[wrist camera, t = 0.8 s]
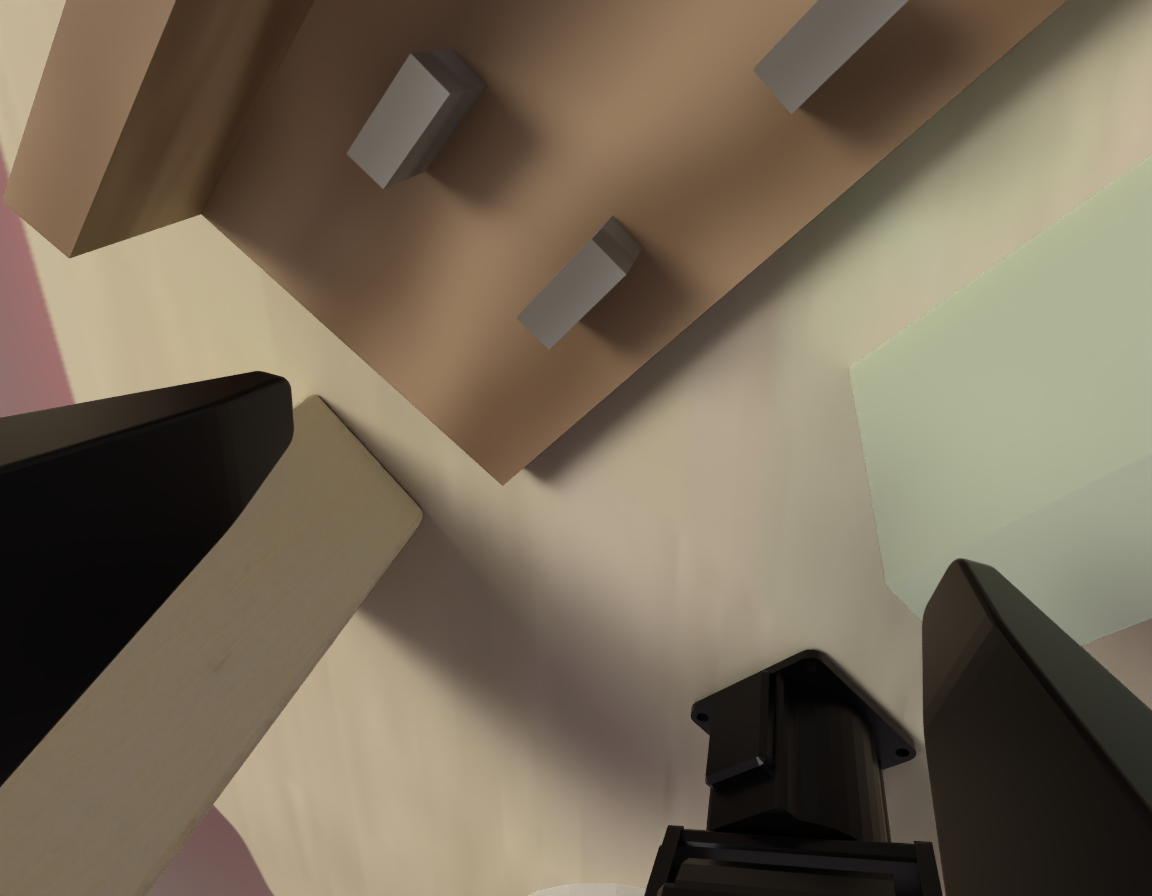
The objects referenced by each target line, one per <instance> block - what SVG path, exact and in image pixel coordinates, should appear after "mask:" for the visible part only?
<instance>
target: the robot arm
mask: <svg viewBox="0 0 1152 896" xmlns="http://www.w3.org/2000/svg"><path fill="white" fill-rule="evenodd" d="M293 435H294V419H293V406H292V393H291V386H290V384H289V382H288V381H287V380H286V379H285V378H284V377H281V376H277V375H274V374H270V373H266V372H262V371H254V372H249V373H244V374H238V375H233V376H227V377H222V378H216V379H211V380H205V381H200V382H194V383H189V384H183V385H178V386H172V387H167V388H161V389H156V390H150V391H145V392H139V393H134V394H128V395H123V396H117V397H112V398H106V399H101V400H95V401H90V402H84V403H79V404H73V405H68V406H62V407H57V408H51V409H46V410H41V411H35V412H29V413H24V414H18V415H13V416H8V417H2V418H0V788H1V786H2V785H3V784H4V783H5V782H6V781H7V780H8V778H9V777H10V776H11V775H12V774H13V773H14V772H15V771H16V769H17V768H18V767H19V766H20V765H21V764H22V763H23V762H24V760H25V759H26V758H27V757H28V756H29V755H30V754H31V753H32V751H33V750H34V749H35V748H36V747H37V746H38V745H39V744H40V742H41V741H42V740H43V739H44V738H45V737H46V736H47V735H48V733H49V732H50V731H51V730H52V729H53V728H54V727H55V725H56V724H57V723H58V722H59V721H60V720H61V719H62V718H63V716H64V715H65V714H66V713H67V712H68V711H69V710H70V709H71V707H72V706H73V705H74V704H75V703H76V702H77V701H78V700H79V698H80V697H81V696H82V695H83V694H84V693H85V692H86V691H87V689H88V688H89V687H90V686H91V685H92V684H93V683H94V681H95V680H96V679H97V678H98V677H99V676H100V675H101V674H102V672H103V671H104V670H105V669H106V668H107V667H108V666H109V665H110V663H111V662H112V661H113V660H114V659H115V658H116V657H117V656H118V654H119V653H120V652H121V651H122V650H123V649H124V648H125V647H126V645H127V644H128V643H129V642H130V641H131V640H132V639H133V638H134V636H135V635H136V634H137V633H138V632H139V631H140V630H141V628H142V627H143V626H144V625H145V624H146V623H147V622H148V621H149V619H150V618H151V617H152V616H153V615H154V614H155V613H156V612H157V610H158V609H159V608H160V607H161V606H162V605H163V604H164V603H165V601H166V600H167V599H168V598H169V597H170V596H171V595H172V594H173V592H174V591H175V590H176V589H177V588H178V587H179V586H180V585H181V583H182V582H183V581H184V580H185V579H186V578H187V577H188V575H189V574H190V573H191V572H192V571H193V570H194V569H195V568H196V566H197V565H198V564H199V563H200V562H201V561H202V560H203V559H204V557H205V556H206V555H207V554H208V553H209V552H210V551H211V550H212V548H213V547H214V546H215V545H216V544H217V543H218V542H219V541H220V539H221V538H222V537H223V536H224V535H225V534H226V532H227V531H228V530H229V529H230V528H231V526H232V525H233V524H234V523H235V521H236V520H237V519H238V517H239V516H240V515H241V513H242V512H243V511H244V509H245V508H246V506H247V505H248V504H249V502H250V501H251V499H252V498H253V497H254V495H255V494H256V492H257V491H258V490H259V488H260V487H261V485H262V484H263V482H264V481H265V480H266V478H267V477H268V475H269V474H270V473H271V471H272V470H273V468H274V467H275V466H276V464H277V463H278V461H279V460H280V458H281V457H282V456H283V454H284V453H285V451H286V450H287V449H288V447H289V445H290V443H291V441H292V439H293ZM922 660H923V724H924V738H925V747H926V755H927V763H928V770H929V777H930V784H931V792H932V799H933V806H934V813H935V821H936V828H937V835H938V842H939V850H940V857H941V864H942V871H943V879H944V886H945V893H946V896H1152V710H1151V709H1149V708H1148V707H1147V706H1146V705H1145V704H1144V703H1143V702H1142V701H1141V700H1139V699H1138V698H1137V697H1136V696H1135V695H1134V694H1133V693H1132V692H1131V691H1130V690H1128V689H1127V688H1126V687H1125V686H1124V685H1123V684H1122V683H1121V682H1120V681H1119V680H1117V679H1116V678H1115V677H1114V676H1113V675H1112V674H1111V673H1110V672H1109V671H1108V670H1106V669H1105V668H1104V667H1103V666H1102V665H1101V664H1100V663H1099V662H1098V661H1097V660H1095V659H1094V658H1093V657H1092V656H1091V655H1090V654H1089V653H1088V652H1087V651H1086V650H1084V649H1083V648H1082V647H1081V646H1080V645H1079V644H1078V643H1077V642H1076V641H1075V640H1073V639H1072V638H1071V637H1070V636H1069V635H1068V634H1067V633H1066V632H1065V631H1064V630H1062V629H1061V628H1060V627H1059V626H1058V625H1057V624H1056V623H1055V622H1054V621H1053V620H1051V619H1050V618H1049V617H1048V616H1047V615H1046V614H1045V613H1044V612H1043V611H1042V610H1040V609H1039V608H1038V607H1037V606H1036V605H1035V604H1034V603H1033V602H1032V601H1031V600H1029V599H1028V598H1027V597H1026V596H1025V595H1024V594H1023V593H1022V592H1021V591H1020V590H1018V589H1017V588H1016V587H1015V586H1014V585H1013V584H1012V583H1011V582H1010V581H1009V580H1007V579H1006V578H1005V577H1004V576H1003V575H1002V574H1001V573H1000V572H999V571H998V570H996V569H995V568H994V567H992V566H990V565H987V564H983V563H979V562H976V561H972V560H968V559H964V558H958V559H956V560H954V561H953V562H952V563H951V564H950V565H949V566H948V568H947V570H946V571H945V573H944V575H943V577H942V578H941V580H940V582H939V584H938V585H937V587H936V589H935V591H934V593H933V594H932V596H931V598H930V600H929V601H928V603H927V605H926V608H925V610H924V614H923V620H922ZM808 662H813V663H815V664H808ZM702 713H704V714H702ZM691 719H692V720H693V721H694V722H695V723H696V724H697V725H698V726H699V727H701V728H702V729H703V730H704V731H705V732H706V733H707V734H709V735H710V740H709V750H708V759H707V768H706V778H705V781H706V784H707V785H708V786H709V787H711V788H710V798H709V808H708V818H707V828H706V830H693V829H684V826H674V825H668V827H667V830H666V833H665V837H664V840H663V843H662V846H661V845H660V847H659V850H658V853H657V856H656V859H655V862H654V866H653V869H652V872H651V875H650V879H649V882H648V885H647V888H646V891H645V895H644V896H942V891H941V885H940V880H939V875H938V870H937V865H936V860H935V855H934V850H933V845H932V842H923V841H914V844H907V843H891V837H890V829H889V821H888V813H887V805H886V797H885V789H884V781H883V773H882V770H883V769H886V768H889V767H892V766H895V765H898V764H901V763H903V762H906V761H909V760H911V759H913V758H914V757H915V756H916V749H915V744H914V742H913V740H912V739H911V738H910V737H909V736H908V735H907V734H906V733H904V732H903V731H902V730H901V729H900V728H899V727H898V726H897V725H896V724H895V723H894V722H893V721H892V720H891V719H890V718H889V717H888V716H887V715H886V714H884V713H883V712H882V711H881V710H880V709H879V708H878V707H877V706H876V705H875V704H874V703H873V702H872V701H871V700H870V699H869V698H868V697H867V696H866V695H865V694H863V693H862V692H861V691H860V690H859V689H858V688H857V687H856V686H855V685H854V684H853V683H852V682H851V681H850V680H849V679H848V678H847V677H846V676H845V675H844V674H842V673H841V672H840V671H839V670H838V669H837V668H836V667H835V666H834V665H833V664H832V663H831V662H830V661H829V660H828V659H827V658H826V657H825V656H824V655H822V654H821V653H820V652H818V651H815V650H805V651H802V652H800V653H798V654H795V655H793V656H791V657H789V658H787V659H785V660H783V661H781V662H779V663H777V664H775V665H773V666H771V667H768V668H766V669H764V670H762V671H760V672H758V673H756V674H754V675H752V676H750V677H748V678H746V679H744V680H741V681H739V682H737V683H735V684H733V685H731V686H729V687H727V688H725V689H723V690H721V691H719V692H717V693H714V694H712V695H710V696H708V697H706V698H704V699H702V700H700V701H698V702H696V703H694V704H693V706H692V709H691Z"/></svg>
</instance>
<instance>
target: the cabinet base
mask: <svg viewBox="0 0 1152 896" xmlns="http://www.w3.org/2000/svg"><path fill="white" fill-rule="evenodd" d="M1066 1H1067V0H66V3H65V6H64V9H63V12H62V16H61V19H60V22H59V25H58V28H57V31H56V34H55V37H54V40H53V44H52V47H51V50H50V53H49V56H48V59H47V62H46V65H45V68H44V72H43V75H42V78H41V81H40V84H39V87H38V90H37V93H36V96H35V100H34V103H33V106H32V109H31V112H30V115H29V118H28V121H27V125H26V128H25V131H24V134H23V137H22V140H21V143H20V146H19V149H18V153H17V156H16V159H15V162H14V165H13V168H12V171H11V174H10V177H9V181H8V184H7V187H6V190H5V193H4V196H3V199H2V202H3V203H5V204H6V205H7V206H8V207H9V208H11V209H12V210H13V211H14V212H15V213H16V214H18V215H19V216H20V217H21V218H22V219H23V220H25V221H26V222H27V223H28V224H29V225H30V226H32V227H33V228H34V229H35V230H36V231H38V232H39V233H40V234H41V235H42V236H43V237H45V238H46V239H47V240H48V241H49V242H51V243H52V244H53V245H54V246H55V247H56V248H58V249H59V250H60V251H61V252H62V253H63V254H65V255H66V256H67V257H68V258H72V257H75V256H78V255H81V254H84V253H87V252H90V251H93V250H96V249H99V248H102V247H105V246H108V245H111V244H114V243H117V242H120V241H123V240H126V239H128V238H131V237H134V236H137V235H140V234H143V233H146V232H149V231H152V230H155V229H158V228H161V227H164V226H167V225H170V224H173V223H176V222H179V221H182V220H185V219H188V218H191V217H194V216H197V215H200V214H202V215H203V216H204V217H205V218H206V219H207V220H208V221H209V222H211V223H212V224H213V225H214V226H215V227H216V228H217V229H218V230H219V231H221V232H222V233H223V234H224V235H225V236H226V237H227V238H228V239H229V240H231V241H232V242H233V243H234V244H235V245H236V246H237V247H238V248H239V249H241V250H242V251H243V252H244V253H245V254H246V255H247V256H248V257H249V258H251V259H252V260H253V261H254V262H255V263H256V264H257V265H258V266H259V267H260V268H262V269H263V270H264V271H265V272H266V273H267V274H268V275H269V276H270V277H272V278H273V279H274V280H275V281H276V282H277V283H278V284H279V285H280V286H282V287H283V288H284V289H285V290H286V291H287V292H288V293H289V294H290V295H292V296H293V297H294V298H295V299H296V300H297V301H298V302H299V303H300V304H302V305H303V306H304V307H305V308H306V309H307V310H308V311H309V312H310V313H312V314H313V315H314V316H315V317H316V318H317V319H318V320H319V321H320V322H322V323H323V324H324V325H325V326H326V327H327V328H328V329H329V330H330V331H331V332H333V333H334V334H335V335H336V336H337V337H338V338H339V339H340V340H341V341H343V342H344V343H345V344H346V345H347V346H348V347H349V348H350V349H351V350H353V351H354V352H355V353H356V354H357V355H358V356H359V357H360V358H361V359H363V360H364V361H365V362H366V363H367V364H368V365H369V366H370V367H371V368H373V369H374V370H375V371H376V372H377V373H378V374H379V375H380V376H381V377H383V378H384V379H385V380H386V381H387V382H388V383H389V384H390V385H391V386H393V387H394V388H395V389H396V390H397V391H398V392H399V393H400V394H401V395H402V396H404V397H405V398H406V399H407V400H408V401H409V402H410V403H411V404H412V405H414V406H415V407H416V408H417V409H418V410H419V411H420V412H421V413H422V414H424V415H425V416H426V417H427V418H428V419H429V420H430V421H431V422H432V423H434V424H435V425H436V426H437V427H438V428H439V429H440V430H441V431H442V432H444V433H445V434H446V435H447V436H448V437H449V438H450V439H451V440H452V441H454V442H455V443H456V444H457V445H458V446H459V447H460V448H461V449H462V450H464V451H465V452H466V453H467V454H468V455H469V456H470V457H471V458H472V459H473V460H475V461H476V462H477V463H478V464H479V465H480V466H481V467H482V468H483V469H485V470H486V471H487V472H488V473H489V474H490V475H491V476H492V477H493V478H495V479H496V480H497V481H498V482H499V483H500V484H501V485H502V486H503V485H504V484H505V483H507V482H508V481H509V480H510V479H511V478H512V477H514V476H515V475H516V474H517V473H518V472H519V471H520V470H522V469H523V468H524V467H525V466H526V465H527V464H529V463H530V462H531V461H532V460H533V459H534V458H536V457H537V456H538V455H539V454H540V453H541V452H543V451H544V450H545V449H546V448H547V447H548V446H550V445H551V444H552V443H553V442H554V441H555V440H557V439H558V438H559V437H560V436H561V435H562V434H564V433H565V432H566V431H567V430H568V429H569V428H570V427H572V426H573V425H574V424H575V423H576V422H577V421H579V420H580V419H581V418H582V417H583V416H584V415H586V414H587V413H588V412H589V411H590V410H591V409H593V408H594V407H595V406H596V405H597V404H598V403H600V402H601V401H602V400H603V399H604V398H605V397H607V396H608V395H609V394H610V393H611V392H612V391H614V390H615V389H616V388H617V387H618V386H619V385H620V384H622V383H623V382H624V381H625V380H626V379H627V378H629V377H630V376H631V375H632V374H633V373H634V372H636V371H637V370H638V369H639V368H640V367H641V366H643V365H644V364H645V363H646V362H647V361H648V360H650V359H651V358H652V357H653V356H654V355H655V354H657V353H658V352H659V351H660V350H661V349H662V348H664V347H665V346H666V345H667V344H668V343H669V342H670V341H672V340H673V339H674V338H675V337H676V336H677V335H679V334H680V333H681V332H682V331H683V330H684V329H686V328H687V327H688V326H689V325H690V324H691V323H693V322H694V321H695V320H696V319H697V318H698V317H700V316H701V315H702V314H703V313H704V312H705V311H707V310H708V309H709V308H710V307H711V306H712V305H714V304H715V303H716V302H717V301H718V300H719V299H720V298H722V297H723V296H724V295H725V294H726V293H727V292H729V291H730V290H731V289H732V288H733V287H734V286H736V285H737V284H738V283H739V282H740V281H741V280H743V279H744V278H745V277H746V276H747V275H748V274H750V273H751V272H752V271H753V270H754V269H755V268H757V267H758V266H759V265H760V264H761V263H762V262H764V261H765V260H766V259H767V258H768V257H769V256H770V255H772V254H773V253H774V252H775V251H776V250H777V249H779V248H780V247H781V246H782V245H783V244H784V243H786V242H787V241H788V240H789V239H790V238H791V237H793V236H794V235H795V234H796V233H797V232H798V231H800V230H801V229H802V228H803V227H804V226H805V225H807V224H808V223H809V222H810V221H811V220H812V219H814V218H815V217H816V216H817V215H818V214H819V213H821V212H822V211H823V210H824V209H825V208H826V207H827V206H829V205H830V204H831V203H832V202H833V201H834V200H836V199H837V198H838V197H839V196H840V195H841V194H843V193H844V192H845V191H846V190H847V189H848V188H850V187H851V186H852V185H853V184H854V183H855V182H857V181H858V180H859V179H860V178H861V177H862V176H864V175H865V174H866V173H867V172H868V171H869V170H871V169H872V168H873V167H874V166H875V165H876V164H877V163H879V162H880V161H881V160H882V159H883V158H884V157H886V156H887V155H888V154H889V153H890V152H891V151H893V150H894V149H895V148H896V147H897V146H898V145H900V144H901V143H902V142H903V141H904V140H905V139H907V138H908V137H909V136H910V135H911V134H912V133H914V132H915V131H916V130H917V129H918V128H919V127H921V126H922V125H923V124H924V123H925V122H926V121H927V120H929V119H930V118H931V117H932V116H933V115H934V114H936V113H937V112H938V111H939V110H940V109H941V108H943V107H944V106H945V105H946V104H947V103H948V102H950V101H951V100H952V99H953V98H954V97H955V96H957V95H958V94H959V93H960V92H961V91H962V90H964V89H965V88H966V87H967V86H968V85H969V84H971V83H972V82H973V81H974V80H975V79H976V78H977V77H979V76H980V75H981V74H982V73H983V72H984V71H986V70H987V69H988V68H989V67H990V66H991V65H993V64H994V63H995V62H996V61H997V60H998V59H1000V58H1001V57H1002V56H1003V55H1004V54H1005V53H1007V52H1008V51H1009V50H1010V49H1011V48H1012V47H1014V46H1015V45H1016V44H1017V43H1018V42H1019V41H1021V40H1022V39H1023V38H1024V37H1025V36H1026V35H1027V34H1029V33H1030V32H1031V31H1032V30H1033V29H1034V28H1036V27H1037V26H1038V25H1039V24H1040V23H1041V22H1043V21H1044V20H1045V19H1046V18H1047V17H1048V16H1050V15H1051V14H1052V13H1053V12H1054V11H1055V10H1057V9H1058V8H1059V7H1060V6H1061V5H1062V4H1064V3H1065V2H1066Z"/></svg>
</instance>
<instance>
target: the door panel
mask: <svg viewBox="0 0 1152 896" xmlns="http://www.w3.org/2000/svg"><path fill="white" fill-rule="evenodd" d="M849 373H850V379H851V385H852V391H853V397H854V403H855V408H856V414H857V420H858V426H859V432H860V437H861V443H862V449H863V455H864V461H865V466H866V472H867V478H868V484H869V490H870V496H871V501H872V507H873V513H874V519H875V525H876V530H877V536H878V542H879V548H880V554H881V559H882V565H883V571H884V577H885V583H886V586H887V587H888V588H889V589H890V590H891V591H892V592H893V593H894V594H895V595H896V596H897V597H898V598H899V599H900V600H901V601H902V602H903V604H904V605H905V606H906V607H907V608H908V609H909V610H910V611H911V612H912V613H913V614H914V615H915V616H916V617H917V618H918V619H919V620H920V621H921V622H922V620H923V614H924V610H925V608H926V605H927V603H928V601H929V600H930V598H931V596H932V594H933V593H934V591H935V589H936V587H937V585H938V584H939V582H940V580H941V578H942V577H943V575H944V573H945V571H946V570H947V568H948V566H949V565H950V564H951V563H952V562H953V561H954V560H956V559H958V558H964V559H968V560H972V561H976V562H979V563H983V564H987V565H990V566H992V567H994V568H995V569H996V570H998V571H999V572H1000V573H1001V574H1002V575H1003V576H1004V577H1005V578H1006V579H1007V580H1009V581H1010V582H1011V583H1012V584H1013V585H1014V586H1015V587H1016V588H1017V589H1018V590H1020V591H1021V592H1022V593H1023V594H1024V595H1025V596H1026V597H1027V598H1028V599H1029V600H1031V601H1032V602H1033V603H1034V604H1035V605H1036V606H1037V607H1038V608H1039V609H1040V610H1042V611H1043V612H1044V613H1045V614H1046V615H1047V616H1048V617H1049V618H1050V619H1051V620H1053V621H1054V622H1055V623H1056V624H1057V625H1058V626H1059V627H1060V628H1061V629H1062V630H1064V631H1065V632H1066V633H1067V634H1068V635H1069V636H1070V637H1071V638H1072V639H1073V640H1075V641H1076V642H1077V643H1078V644H1079V645H1080V646H1082V645H1085V644H1088V643H1090V642H1093V641H1095V640H1098V639H1100V638H1103V637H1106V636H1108V635H1111V634H1113V633H1116V632H1118V631H1121V630H1124V629H1126V628H1129V627H1131V626H1134V625H1136V624H1139V623H1142V622H1144V621H1147V620H1149V619H1152V154H1151V155H1150V156H1148V157H1147V158H1145V159H1144V160H1143V161H1141V162H1140V163H1138V164H1137V165H1136V166H1134V167H1133V168H1131V169H1130V170H1128V171H1127V172H1126V173H1124V174H1123V175H1121V176H1120V177H1119V178H1117V179H1116V180H1114V181H1113V182H1111V183H1110V184H1109V185H1107V186H1106V187H1104V188H1103V189H1102V190H1100V191H1099V192H1097V193H1096V194H1094V195H1093V196H1092V197H1090V198H1089V199H1087V200H1086V201H1085V202H1083V203H1082V204H1080V205H1079V206H1077V207H1076V208H1075V209H1073V210H1072V211H1070V212H1069V213H1068V214H1066V215H1065V216H1063V217H1062V218H1060V219H1059V220H1058V221H1056V222H1055V223H1053V224H1052V225H1051V226H1049V227H1048V228H1046V229H1045V230H1043V231H1042V232H1041V233H1039V234H1038V235H1036V236H1035V237H1034V238H1032V239H1031V240H1029V241H1028V242H1026V243H1025V244H1024V245H1022V246H1021V247H1019V248H1018V249H1016V250H1015V251H1014V252H1012V253H1011V254H1009V255H1008V256H1007V257H1005V258H1004V259H1002V260H1001V261H999V262H998V263H997V264H995V265H994V266H992V267H991V268H990V269H988V270H987V271H985V272H984V273H982V274H981V275H980V276H978V277H977V278H975V279H974V280H973V281H971V282H970V283H968V284H967V285H965V286H964V287H963V288H961V289H960V290H958V291H957V292H956V293H954V294H953V295H951V296H950V297H948V298H947V299H946V300H944V301H943V302H941V303H940V304H939V305H937V306H936V307H934V308H933V309H931V310H930V311H929V312H927V313H926V314H924V315H923V316H922V317H920V318H919V319H917V320H916V321H914V322H913V323H912V324H910V325H909V326H907V327H906V328H905V329H903V330H902V331H900V332H899V333H897V334H896V335H895V336H893V337H892V338H890V339H889V340H888V341H886V342H885V343H883V344H882V345H880V346H879V347H878V348H876V349H875V350H873V351H872V352H871V353H869V354H868V355H866V356H865V357H863V358H862V359H861V360H859V361H858V362H856V363H855V364H854V365H852V366H851V367H849Z"/></svg>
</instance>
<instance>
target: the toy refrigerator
mask: <svg viewBox="0 0 1152 896" xmlns="http://www.w3.org/2000/svg"><path fill="white" fill-rule="evenodd" d="M293 419H294V435H293V439H292V441H291V443H290V445H289V447H288V449H287V450H286V451H285V453H284V454H283V456H282V457H281V458H280V460H279V461H278V463H277V464H276V466H275V467H274V468H273V470H272V471H271V473H270V474H269V475H268V477H267V478H266V480H265V481H264V482H263V484H262V485H261V487H260V488H259V490H258V491H257V492H256V494H255V495H254V497H253V498H252V499H251V501H250V502H249V504H248V505H247V506H246V508H245V509H244V511H243V512H242V513H241V515H240V516H239V517H238V519H237V520H236V521H235V523H234V524H233V525H232V526H231V528H230V529H229V530H228V531H227V532H226V534H225V535H224V536H223V537H222V538H221V539H220V541H219V542H218V543H217V544H216V545H215V546H214V547H213V548H212V550H211V551H210V552H209V553H208V554H207V555H206V556H205V557H204V559H203V560H202V561H201V562H200V563H199V564H198V565H197V566H196V568H195V569H194V570H193V571H192V572H191V573H190V574H189V575H188V577H187V578H186V579H185V580H184V581H183V582H182V583H181V585H180V586H179V587H178V588H177V589H176V590H175V591H174V592H173V594H172V595H171V596H170V597H169V598H168V599H167V600H166V601H165V603H164V604H163V605H162V606H161V607H160V608H159V609H158V610H157V612H156V613H155V614H154V615H153V616H152V617H151V618H150V619H149V621H148V622H147V623H146V624H145V625H144V626H143V627H142V628H141V630H140V631H139V632H138V633H137V634H136V635H135V636H134V638H133V639H132V640H131V641H130V642H129V643H128V644H127V645H126V647H125V648H124V649H123V650H122V651H121V652H120V653H119V654H118V656H117V657H116V658H115V659H114V660H113V661H112V662H111V663H110V665H109V666H108V667H107V668H106V669H105V670H104V671H103V672H102V674H101V675H100V676H99V677H98V678H97V679H96V680H95V681H94V683H93V684H92V685H91V686H90V687H89V688H88V689H87V691H86V692H85V693H84V694H83V695H82V696H81V697H80V698H79V700H78V701H77V702H76V703H75V704H74V705H73V706H72V707H71V709H70V710H69V711H68V712H67V713H66V714H65V715H64V716H63V718H62V719H61V720H60V721H59V722H58V723H57V724H56V725H55V727H54V728H53V729H52V730H51V731H50V732H49V733H48V735H47V736H46V737H45V738H44V739H43V740H42V741H41V742H40V744H39V745H38V746H37V747H36V748H35V749H34V750H33V751H32V753H31V754H30V755H29V756H28V757H27V758H26V759H25V760H24V762H23V763H22V764H21V765H20V766H19V767H18V768H17V769H16V771H15V772H14V773H13V774H12V775H11V776H10V777H9V778H8V780H7V781H6V782H5V783H4V784H3V785H2V786H1V788H0V896H146V895H147V894H148V892H149V891H150V889H151V888H152V887H153V885H154V884H155V883H156V881H157V880H158V879H159V877H160V876H161V875H162V873H163V872H164V871H165V869H166V868H167V866H168V865H169V864H170V862H171V861H172V860H173V858H174V857H175V856H176V854H177V853H178V851H179V850H180V848H181V847H182V846H183V845H184V843H185V842H186V841H187V839H188V838H189V837H190V835H191V834H192V832H193V831H194V830H195V828H196V827H197V826H198V824H199V823H200V822H201V820H202V819H203V817H204V816H205V815H206V813H207V812H208V811H209V809H210V808H211V807H212V805H213V804H214V802H215V801H216V800H217V798H218V797H219V796H220V794H221V793H222V792H223V790H224V789H225V787H226V786H227V785H228V783H229V782H230V781H231V779H232V778H233V777H234V775H235V774H236V773H237V771H238V770H239V769H240V767H241V766H242V765H243V763H244V762H245V761H246V759H247V758H248V757H249V755H250V754H251V752H252V751H253V750H254V748H255V747H256V746H257V744H258V743H259V742H260V740H261V739H262V738H263V736H264V735H265V733H266V732H267V731H268V729H269V728H270V727H271V725H272V724H273V723H274V721H275V720H276V719H277V717H278V716H279V715H280V713H281V712H282V711H283V709H284V708H285V707H286V705H287V704H288V703H289V701H290V700H291V699H292V697H293V696H294V694H295V693H296V692H297V690H298V689H299V688H300V686H301V685H302V684H303V682H304V681H305V680H306V678H307V677H308V676H309V674H310V673H311V671H312V670H313V669H314V667H315V666H316V664H317V663H318V662H319V660H320V659H321V658H322V656H323V655H324V654H325V652H326V651H327V650H328V649H329V647H330V646H331V645H332V643H333V642H334V640H335V639H336V638H337V636H338V635H339V633H340V632H341V631H342V629H343V628H344V627H345V625H346V624H347V623H348V621H349V620H350V619H351V617H352V616H353V614H354V613H355V612H356V610H357V609H358V608H359V606H360V605H361V604H362V602H363V601H364V599H365V598H366V597H367V595H368V594H369V593H370V591H371V590H372V589H373V587H374V586H375V585H376V583H377V582H378V581H379V579H380V578H381V577H382V575H383V574H384V572H385V571H386V570H387V568H388V567H389V566H390V564H391V563H392V561H393V560H394V559H395V557H396V556H397V555H398V553H399V552H400V551H401V549H402V548H403V547H404V545H405V544H406V543H407V541H408V540H409V539H410V537H411V536H412V534H413V533H414V532H415V530H416V529H417V528H418V526H419V525H420V523H421V521H422V518H423V512H422V511H421V509H420V508H419V507H418V505H417V504H416V503H415V502H414V501H413V500H412V499H411V498H410V496H409V495H408V494H407V493H406V492H405V491H404V490H403V489H402V488H401V487H400V486H399V485H398V483H397V482H396V481H395V480H394V479H393V478H392V476H391V475H390V474H389V473H388V472H387V471H386V470H385V469H384V468H383V467H382V466H381V465H380V463H379V462H378V461H377V460H376V459H375V458H374V457H373V456H372V455H371V454H370V452H369V451H368V450H367V449H366V448H365V447H364V446H363V445H362V444H361V442H360V441H359V440H358V439H357V438H356V437H355V436H354V435H353V434H352V433H351V432H350V430H349V429H348V428H347V427H346V426H345V425H344V424H343V423H342V422H341V420H340V419H339V418H338V417H337V416H336V415H335V414H334V413H333V412H332V411H331V410H330V408H329V407H328V406H327V405H326V404H325V403H324V402H323V401H322V400H321V399H320V398H319V397H318V396H316V395H314V394H312V395H309V396H307V397H306V398H305V399H303V400H302V401H301V402H299V403H298V404H297V405H295V406H294V407H293Z"/></svg>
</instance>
